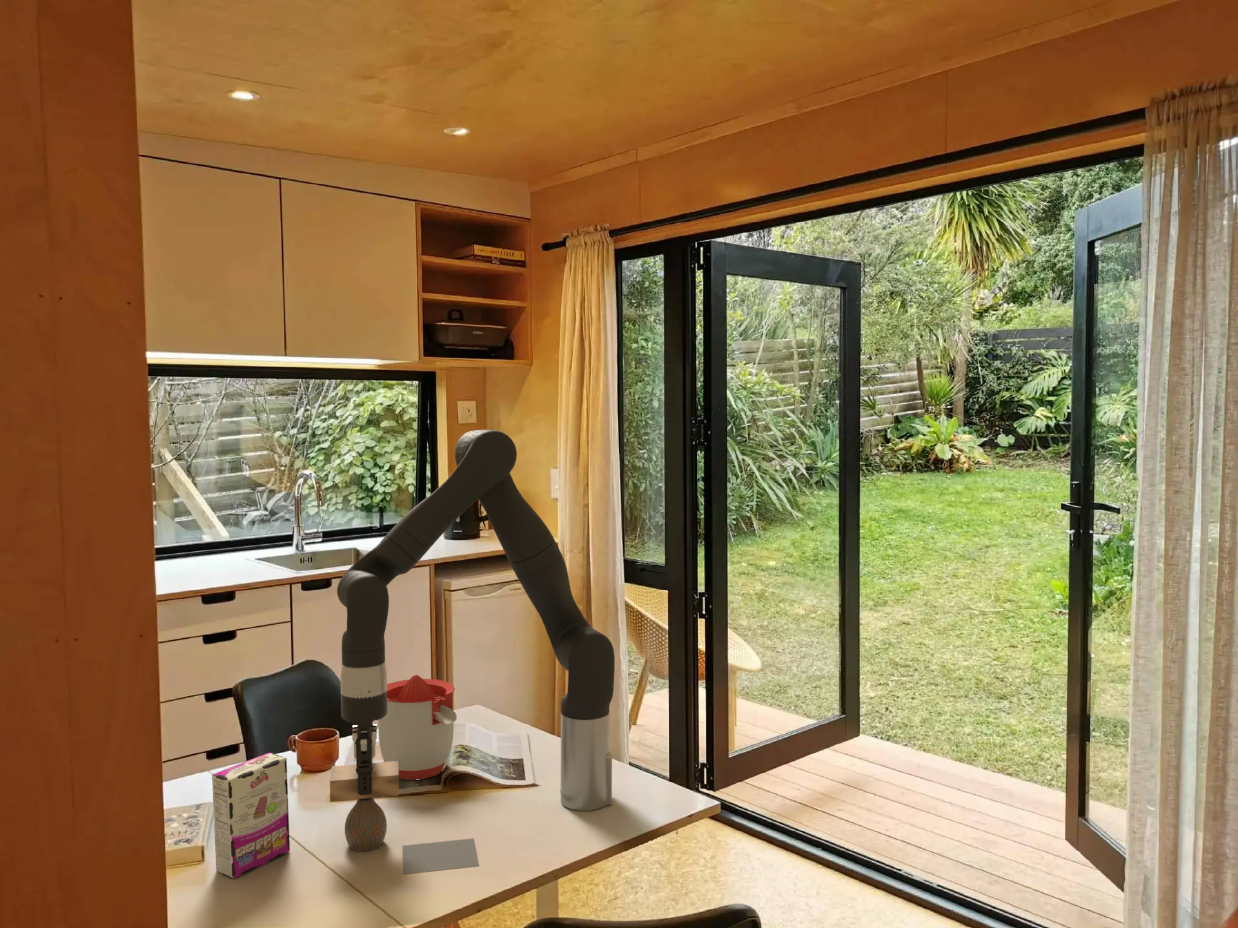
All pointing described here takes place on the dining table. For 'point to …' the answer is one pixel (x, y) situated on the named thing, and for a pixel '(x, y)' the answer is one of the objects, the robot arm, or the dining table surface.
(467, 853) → the rubber mat
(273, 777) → the candy bar box
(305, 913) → the dining table surface
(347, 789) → the wooden rectangular block
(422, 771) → the citrus juicer
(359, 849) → the vase
